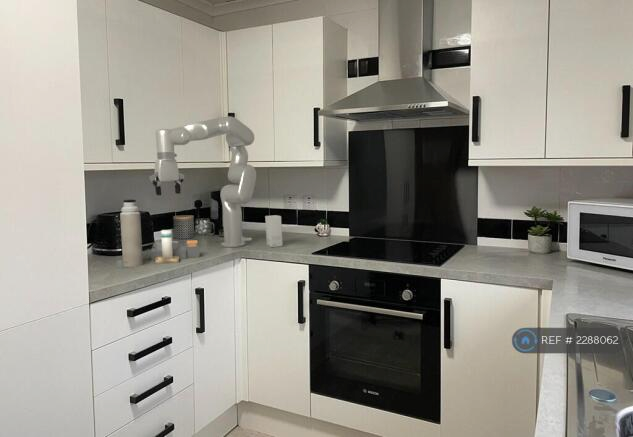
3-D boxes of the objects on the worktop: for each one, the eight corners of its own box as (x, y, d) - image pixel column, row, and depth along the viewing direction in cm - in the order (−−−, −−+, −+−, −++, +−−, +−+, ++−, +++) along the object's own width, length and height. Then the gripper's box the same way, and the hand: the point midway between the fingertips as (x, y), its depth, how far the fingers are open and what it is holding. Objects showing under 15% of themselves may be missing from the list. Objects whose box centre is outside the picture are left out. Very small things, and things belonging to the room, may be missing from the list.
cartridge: (175, 259, 223) (173, 230, 222) (165, 260, 220) (163, 231, 219) (169, 258, 227) (168, 229, 226) (159, 259, 224) (158, 230, 223)
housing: (199, 254, 240) (198, 239, 239) (199, 257, 231) (199, 242, 230) (152, 256, 235) (151, 241, 234) (151, 260, 225) (150, 245, 225)
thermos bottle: (119, 265, 216) (115, 199, 213) (136, 262, 222) (132, 198, 219) (129, 267, 211) (125, 200, 208) (146, 264, 217) (143, 199, 214)
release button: (197, 253, 237) (197, 240, 237) (197, 255, 233) (197, 241, 232) (187, 254, 236) (186, 240, 235) (187, 255, 232) (186, 242, 231)
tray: (179, 259, 228) (179, 255, 228) (179, 262, 221) (178, 258, 221) (156, 260, 226) (155, 257, 226) (155, 263, 219) (154, 260, 218)
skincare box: (282, 246, 258) (282, 216, 256) (270, 247, 255) (269, 216, 254) (277, 244, 266) (277, 214, 264) (265, 245, 263) (264, 215, 261)
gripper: (178, 156, 238) (180, 192, 240) (144, 157, 225) (146, 195, 228) (187, 155, 233) (189, 193, 235) (152, 157, 220) (155, 196, 222)
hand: (168, 194), depth 231 cm, fingers open, 9 cm apart
